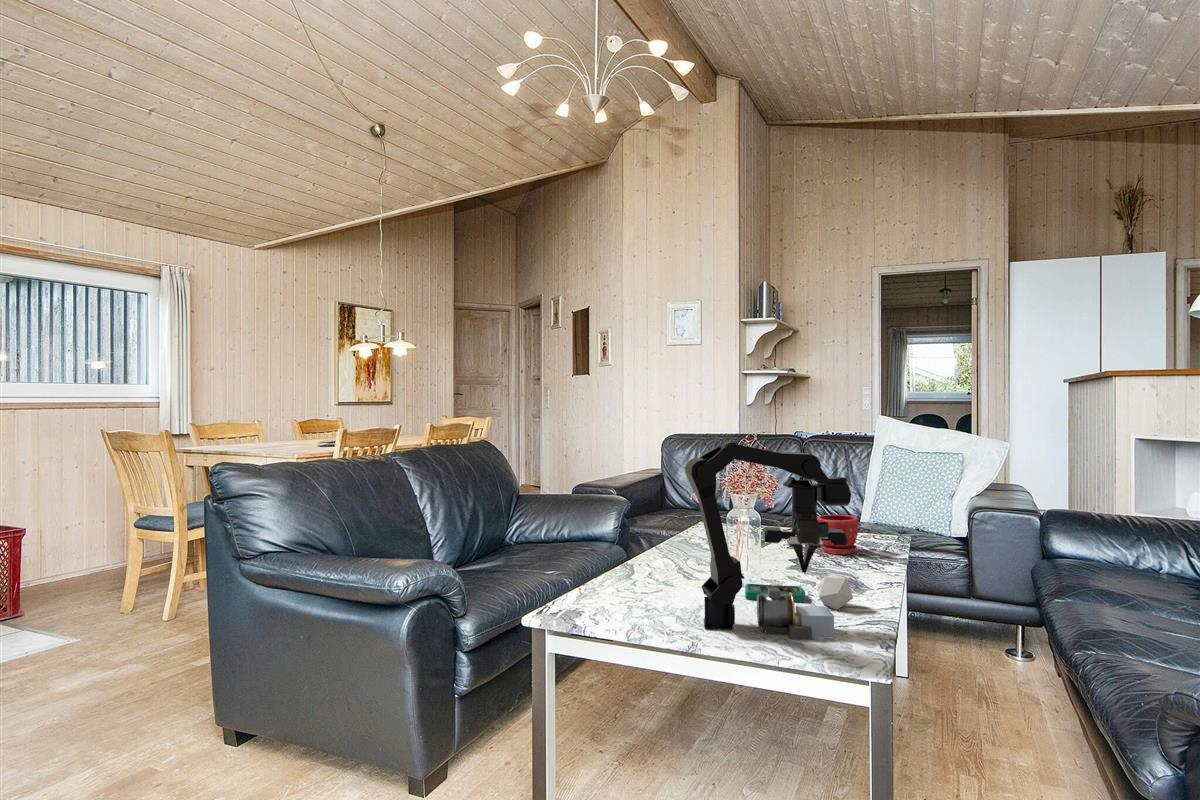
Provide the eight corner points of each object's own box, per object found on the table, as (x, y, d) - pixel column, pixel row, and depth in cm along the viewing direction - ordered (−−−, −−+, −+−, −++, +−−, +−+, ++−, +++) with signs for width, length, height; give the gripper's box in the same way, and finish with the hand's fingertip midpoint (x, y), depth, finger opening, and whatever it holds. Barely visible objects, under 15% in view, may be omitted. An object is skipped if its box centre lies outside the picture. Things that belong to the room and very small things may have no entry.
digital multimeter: (806, 604, 180) (806, 592, 180) (745, 601, 183) (745, 589, 183) (803, 596, 188) (803, 585, 188) (744, 593, 191) (744, 582, 191)
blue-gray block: (797, 637, 155) (797, 615, 155) (791, 627, 162) (791, 605, 162) (834, 638, 154) (834, 615, 154) (826, 627, 161) (826, 606, 161)
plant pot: (848, 547, 245) (848, 513, 245) (864, 555, 232) (864, 519, 232) (811, 548, 244) (811, 513, 244) (826, 556, 231) (826, 520, 231)
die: (826, 601, 183) (807, 574, 181) (856, 588, 180) (838, 560, 178) (830, 622, 176) (811, 594, 174) (862, 608, 173) (843, 580, 171)
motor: (760, 636, 156) (760, 594, 156) (756, 623, 164) (756, 583, 164) (795, 637, 155) (794, 595, 155) (789, 624, 163) (789, 584, 163)
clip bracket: (790, 639, 154) (790, 627, 154) (783, 622, 164) (783, 612, 164) (811, 639, 153) (811, 628, 153) (803, 623, 164) (803, 612, 164)
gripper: (767, 510, 158) (766, 579, 158) (853, 513, 156) (852, 582, 156) (762, 503, 169) (762, 567, 169) (842, 505, 167) (842, 570, 167)
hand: (803, 572), depth 165 cm, fingers closed
